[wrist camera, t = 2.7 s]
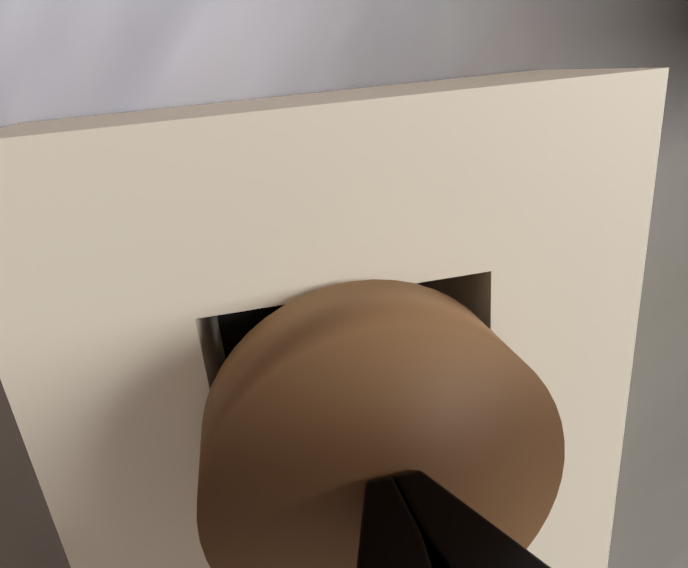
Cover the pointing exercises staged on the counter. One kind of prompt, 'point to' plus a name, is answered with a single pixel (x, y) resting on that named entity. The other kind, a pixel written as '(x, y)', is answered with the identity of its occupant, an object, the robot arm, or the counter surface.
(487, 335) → the walnut knob
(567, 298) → the knob panel
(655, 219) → the counter surface
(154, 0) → the counter surface
